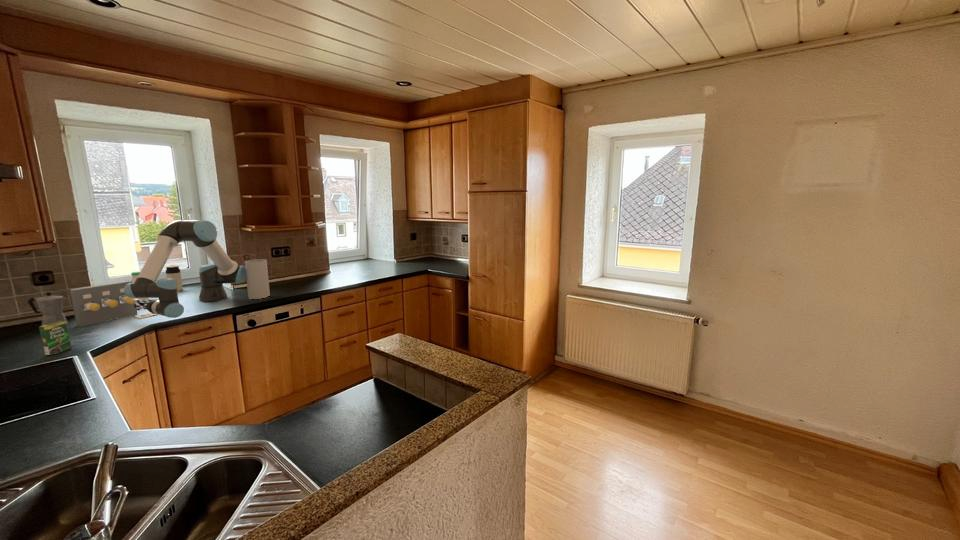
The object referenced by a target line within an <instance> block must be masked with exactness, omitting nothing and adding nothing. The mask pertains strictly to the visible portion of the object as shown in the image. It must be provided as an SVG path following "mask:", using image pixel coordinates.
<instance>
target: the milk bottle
mask: <svg viewBox="0 0 960 540" xmlns="http://www.w3.org/2000/svg"><path fill="white" fill-rule="evenodd" d="M140 272H141V271H132V272H131V277H132V280H131V281H132V282H133V283H134V282H135V280H136V279H137V277H138V275H139V273H140ZM135 299H140V300H148V299H150V298H135Z"/></svg>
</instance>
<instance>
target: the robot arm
mask: <svg viewBox="0 0 960 540" xmlns="http://www.w3.org/2000/svg"><path fill="white" fill-rule="evenodd" d="M217 236H218V231H217V227H216V225H215V224H214V223H213V222H211V221H210V220H204V219H199V220H198V219H197V220H196V219H193V220H192V219H189V220H187V219H186V220H185V219H178V220H174V221H172V222H170V223H168V225H166V226H165V227H163V229H161V231H160V232H159V233H158V235H157V237H156V243H155V245H154V247H153V249H152V251H151V252H150V254H149V255H148V258H147V259H146V261H145V263H144V264H143V267H142V268H141V270H140V271H139V272H140V273H139V275H138V277H137V279H136V280H135V282H134V283H133V282H132V283H128V284H127V285H126V286H125V288H124V293H125V295H124V296H128V297H130V298H149V299H148V300H140V299H132V300H133V304H134V307H135V308H136V309H137V311H140V310H142V309H143V310H147V311H148V312H149V313H154V314H159V315H158V316H163V317H166V318H172V319H173V318H175V319H176V318H180V316H182V315H183V314H184V311H185V308H184V306H183V305H182V304H181V303H180V302H179V294H178V292H177V286H176V281H175V279H172V278H167V277H166V278H159V276H160V274H161V273H162V271H163V269H164V267H165V265H166V263H167V262H168V259H169V257H170V255H171V254H172V253H173V250H174V248H176V247H178V246H179V243H180V242H192V243H193V245H194V246H195V247H197V248H201V250H202V251H203V252H204V253H205V254H206V256H207V257H208V258H209V259H210V260H211V261H212V263H208V264H203V265H200V266H199V268H198V271H199V272H198V273H199V281H200V282H199V283H200V293H199V296H198V300H199V302H201V301H202V303H207V302H208V303H210V301H213V302H219V301H218V300H220V301H223V300H222V299H224V300H226V299H228V294H227V291H226V290H225V288H224V285H223V284H227V285H229V284H232V285H233V284H234V285H235V284H236V285H237V284H243V283H244V282H245V280H246V269H245V265H239V264H238V262H236V261H235V260H232V259H231V258H230V256H229V255H228V254H227V253H226V251H225V250H224V249H223V248H222V246H221V245H220V243H219V242H218V241H217ZM158 278H159V279H158ZM151 298H152V299H151ZM153 298H154V299H153ZM225 298H226V299H225Z"/></svg>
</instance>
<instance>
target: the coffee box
mask: <svg viewBox="0 0 960 540" xmlns="http://www.w3.org/2000/svg"><path fill="white" fill-rule="evenodd" d="M38 330H39V334H40V338H41V343H42V348H43V352H44V356H46V355H52V356H54V355H53V354H55V355H57V354H56V353H58V354H60V353H59V352H61V353H63V351H64V352H66V351H65V350H67V351H69V350H68V349H70V350H72V349H73V347H72V343H71V338H70V333H69V329H68V325H67V324H66V321H58V322H55V323H51V324H47V325H43V326H42V325H39V327H38ZM71 348H72V349H71Z"/></svg>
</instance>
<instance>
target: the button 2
mask: <svg viewBox="0 0 960 540" xmlns="http://www.w3.org/2000/svg"><path fill="white" fill-rule="evenodd" d="M119 298H120V302H125V303H128V304H133V300H132V299H135V298H130V297H128V296H126V295H122V296H119Z"/></svg>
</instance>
